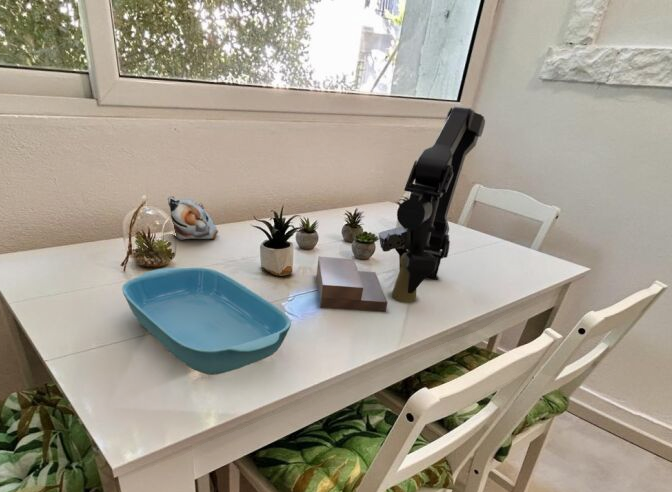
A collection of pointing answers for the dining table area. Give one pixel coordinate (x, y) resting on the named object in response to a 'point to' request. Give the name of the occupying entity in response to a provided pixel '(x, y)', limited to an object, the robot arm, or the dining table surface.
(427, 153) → the robot arm
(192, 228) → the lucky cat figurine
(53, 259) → the dining table surface
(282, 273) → the pastry
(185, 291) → the casserole dish
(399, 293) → the olive green pawn
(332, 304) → the shelf
